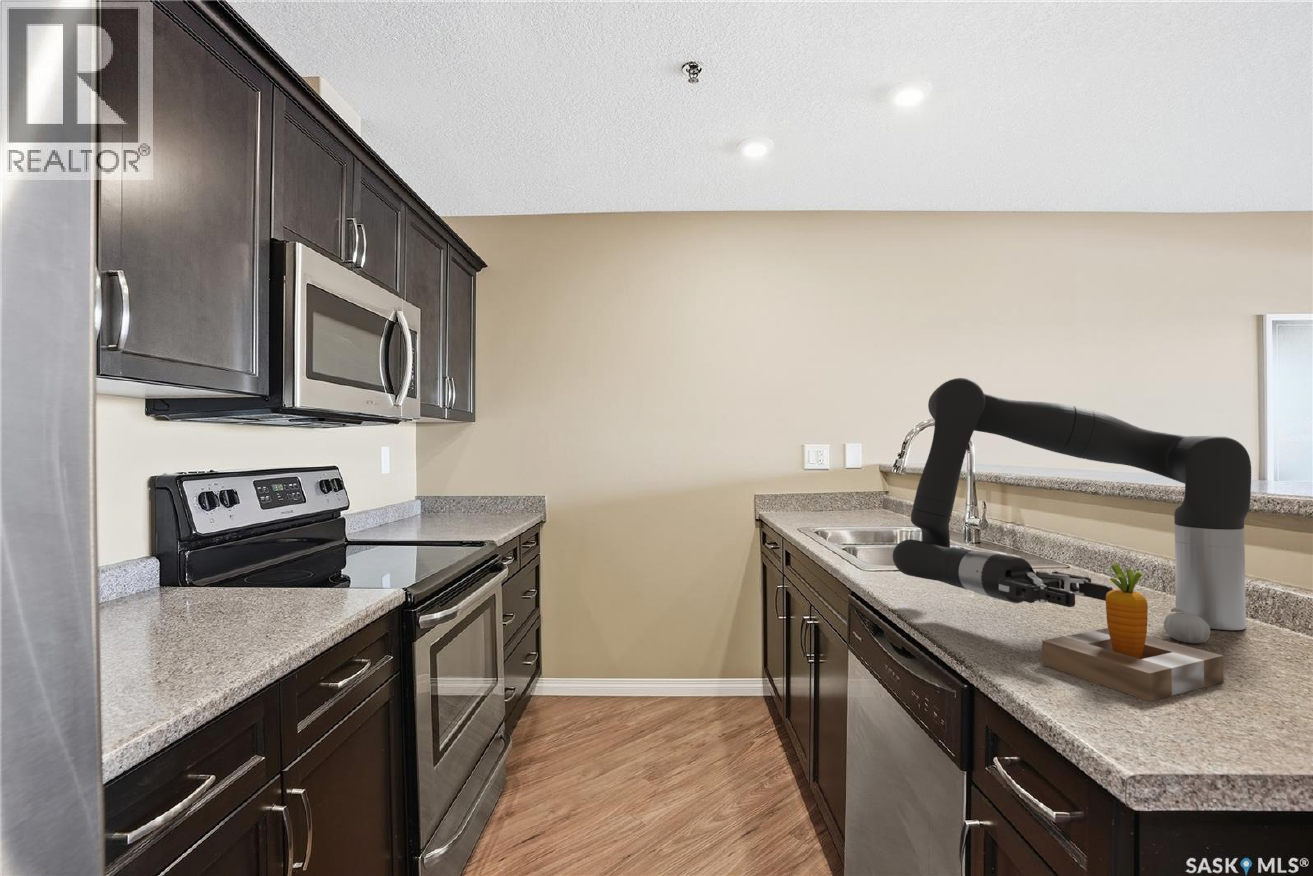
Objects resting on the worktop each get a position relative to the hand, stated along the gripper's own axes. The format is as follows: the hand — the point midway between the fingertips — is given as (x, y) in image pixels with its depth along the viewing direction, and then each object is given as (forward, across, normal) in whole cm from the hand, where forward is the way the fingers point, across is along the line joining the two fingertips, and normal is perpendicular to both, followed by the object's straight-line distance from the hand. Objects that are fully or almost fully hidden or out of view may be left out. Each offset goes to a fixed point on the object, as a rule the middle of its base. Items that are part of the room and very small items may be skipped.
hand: (1092, 597), depth 91 cm
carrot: (+5, 0, +10) cm, 11 cm away
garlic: (0, +23, +10) cm, 25 cm away
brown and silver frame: (+5, 0, +10) cm, 11 cm away
